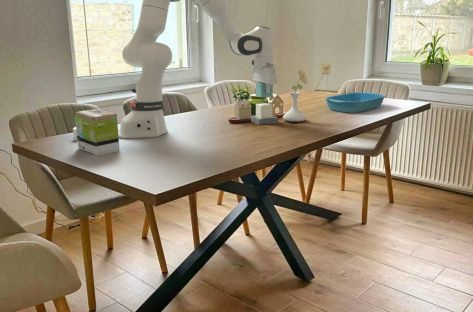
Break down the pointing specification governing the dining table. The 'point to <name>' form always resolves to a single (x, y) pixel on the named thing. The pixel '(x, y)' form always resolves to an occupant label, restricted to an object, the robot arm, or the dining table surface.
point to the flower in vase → (294, 112)
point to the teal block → (263, 90)
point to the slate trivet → (264, 120)
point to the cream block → (264, 110)
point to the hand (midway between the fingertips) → (264, 91)
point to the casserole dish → (354, 101)
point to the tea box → (97, 131)
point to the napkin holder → (74, 133)
